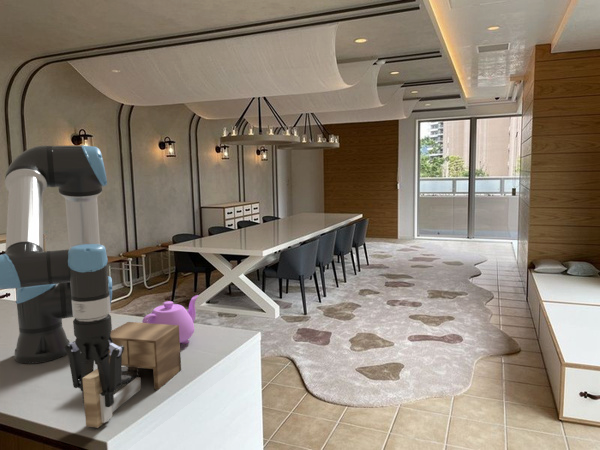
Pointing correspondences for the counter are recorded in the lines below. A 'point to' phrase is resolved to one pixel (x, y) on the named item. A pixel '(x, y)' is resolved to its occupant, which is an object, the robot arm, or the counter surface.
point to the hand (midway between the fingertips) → (99, 418)
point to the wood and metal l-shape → (93, 397)
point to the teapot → (175, 318)
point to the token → (128, 374)
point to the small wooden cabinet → (150, 348)
